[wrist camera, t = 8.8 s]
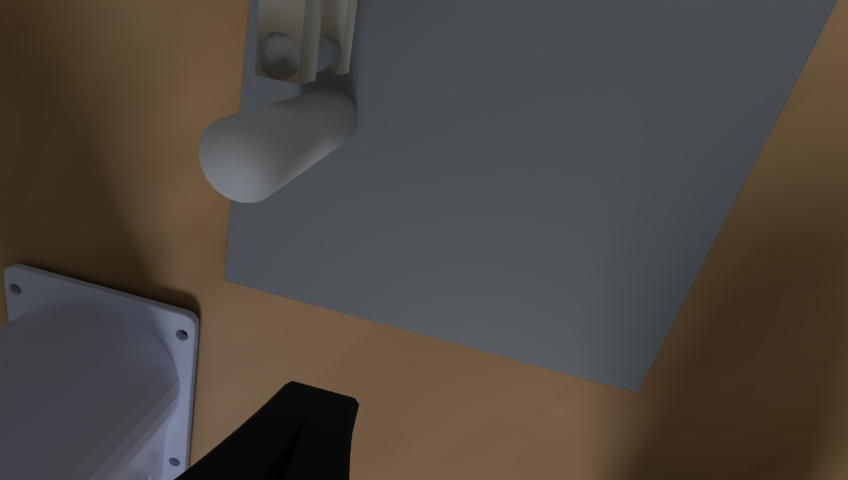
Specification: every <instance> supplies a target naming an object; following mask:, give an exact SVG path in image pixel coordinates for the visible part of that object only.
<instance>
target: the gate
mask: <svg viewBox="0 0 848 480" xmlns="http://www.w3.org/2000/svg"><path fill="white" fill-rule="evenodd" d="M357 2H358V0H259V12H258V29H257V47H256V65H255V76H260V77H265V78H270V79H274V80H279V81H284V82H288V83H293V84H298V85H299V84H303V83H307V82H312V81H315V78H316V74H318V73H323V72H328V73H333V74H337V75H342V74H346V73H349V65H350V57H351V49H352V41H353V33H354V25H355V18H356V10H357Z"/></svg>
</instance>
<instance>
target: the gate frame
mask: <svg viewBox="0 0 848 480" xmlns="http://www.w3.org/2000/svg"><path fill="white" fill-rule="evenodd" d="M836 2H837V0H358V2H357V10H356V18H355V25H354V33H353V41H352V49H351V57H350V65H349V73H346V74H342V75H337V74H333V73H328V72H323V73H318V74H316V78H315V81H312V82H307V83H303V84H299V85H298V84H293V83H288V82H284V81H279V80H274V79H270V78H265V77H260V76H255V65H256V47H257V29H258V12H259V0H250V6H249V16H248V27H247V38H246V48H245V59H244V70H243V81H242V91H241V102H240V113H237V114H234V115H230V116H227V117H223V118H221V119H218V120H216V121H215V122H213V123H212V124H211V125H210V126H209V127H208V128H207V129H206V130H205V132H204V133H203V135H202V138H201V140H200V144H199V161H200V165H201V168H202V171H203V173H204V175H205V177H206V178H207V180H208V181H209V183H210V184H211V185H212V186H213V187H214V188H215V189H216V190H217V191H218V192H219V193H221V194H222V195H224V196H225V197H227V198H229V199H231V209H230V220H229V230H228V241H227V252H226V263H225V273H224V280H225V281H228V282H232V283H236V284H239V285H243V286H247V287H250V288H254V289H258V290H262V291H265V292H269V293H273V294H276V295H280V296H284V297H287V298H291V299H295V300H298V301H302V302H306V303H309V304H313V305H317V306H320V307H324V308H328V309H331V310H335V311H339V312H342V313H346V314H350V315H353V316H357V317H361V318H364V319H368V320H372V321H375V322H379V323H383V324H386V325H390V326H394V327H397V328H401V329H405V330H408V331H412V332H416V333H419V334H423V335H427V336H430V337H434V338H438V339H441V340H445V341H449V342H452V343H456V344H460V345H463V346H467V347H471V348H474V349H478V350H482V351H485V352H489V353H493V354H496V355H500V356H504V357H507V358H511V359H515V360H518V361H522V362H526V363H529V364H533V365H537V366H540V367H544V368H548V369H551V370H555V371H559V372H562V373H566V374H570V375H573V376H577V377H581V378H584V379H588V380H592V381H595V382H599V383H603V384H607V385H610V386H614V387H618V388H621V389H625V390H629V391H632V392H636V393H638V391H639V389H640V387H641V385H642V383H643V381H644V379H645V377H646V375H647V373H648V371H649V369H650V367H651V365H652V363H653V361H654V359H655V357H656V355H657V353H658V352H659V350H660V348H661V346H662V344H663V342H664V340H665V338H666V336H667V334H668V332H669V330H670V328H671V326H672V324H673V322H674V320H675V318H676V316H677V314H678V312H679V310H680V308H681V306H682V304H683V302H684V300H685V299H686V297H687V295H688V293H689V291H690V289H691V287H692V285H693V283H694V281H695V279H696V277H697V275H698V273H699V271H700V269H701V267H702V265H703V263H704V261H705V259H706V257H707V255H708V253H709V251H710V249H711V247H712V245H713V244H714V242H715V240H716V238H717V236H718V234H719V232H720V230H721V228H722V226H723V224H724V222H725V220H726V218H727V216H728V214H729V212H730V210H731V208H732V206H733V204H734V202H735V200H736V198H737V196H738V194H739V192H740V190H741V189H742V187H743V185H744V183H745V181H746V179H747V177H748V175H749V173H750V171H751V169H752V167H753V165H754V163H755V161H756V159H757V157H758V155H759V153H760V151H761V149H762V147H763V145H764V143H765V141H766V139H767V137H768V135H769V134H770V132H771V130H772V128H773V126H774V124H775V122H776V120H777V118H778V116H779V114H780V112H781V110H782V108H783V106H784V104H785V102H786V100H787V98H788V96H789V94H790V92H791V90H792V88H793V86H794V84H795V82H796V80H797V79H798V77H799V75H800V73H801V71H802V69H803V67H804V65H805V63H806V61H807V59H808V57H809V55H810V53H811V51H812V49H813V47H814V45H815V43H816V41H817V39H818V37H819V35H820V33H821V31H822V29H823V27H824V26H825V24H826V22H827V20H828V18H829V16H830V14H831V12H832V10H833V8H834V6H835V4H836Z"/></svg>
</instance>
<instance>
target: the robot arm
mask: <svg viewBox="0 0 848 480" xmlns="http://www.w3.org/2000/svg"><path fill="white" fill-rule="evenodd" d="M4 283H5V293H6V303H7V313H8V324H6V325H4V326H2V327H1V328H0V480H349V470H350V452H351V440H352V432H353V428H354V424H355V420H356V416H357V412H358V407H359V404H358V402H357V401H356V399H355V398H352V397H349V396H345V395H342V394H338V393H334V392H331V391H327V390H323V389H320V388H316V387H313V386H309V385H305V384H302V383H298V382H294V381H291V382H289V383H287V384H285V385H284V386H283V387H282V388H281V389H280V390H279V391H278V392H277V393H276V394H275V395H274V396H273V397H272V398H271V399H270V400H269V401H268V402H267V403H266V404H265V405H264V406H263V407H261V408H260V409H259V410H258V411H257V412H256V413H255V414H254V415H253V416H252V417H250V418H249V419H248V420H247V421H246V422H245V423H244V424H242V425H241V426H240V427H239V428H238V429H237V430H236V431H234V432H233V433H232V434H231V435H230V436H228V437H227V438H226V439H225V440H224V441H222V442H221V443H220V444H219V445H217V446H216V447H215V448H214V449H213V450H211V451H210V452H209V453H208V454H207V455H205V456H204V457H203V458H202V459H200V460H199V461H198V462H197V463H195V464H194V465H193V466H191V467H190V468H189V469H188V467H189V454H190V441H191V427H192V414H193V400H194V387H195V374H196V360H197V347H198V333H199V319H198V317H197V316H196V315H195V314H194V313H193V312H192V311H189V310H187V309H183V308H179V307H176V306H172V305H168V304H165V303H161V302H158V301H154V300H150V299H147V298H143V297H139V296H136V295H132V294H128V293H125V292H121V291H117V290H114V289H110V288H106V287H103V286H99V285H95V284H92V283H88V282H85V281H81V280H77V279H74V278H70V277H66V276H63V275H59V274H55V273H52V272H48V271H44V270H41V269H37V268H33V267H30V266H26V265H22V264H14V265H12V266H10V267H8V268H6V269H5V271H4ZM182 330H184V331H186V333H187V334H188V335H185V334H184V333H183V332H182Z"/></svg>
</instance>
